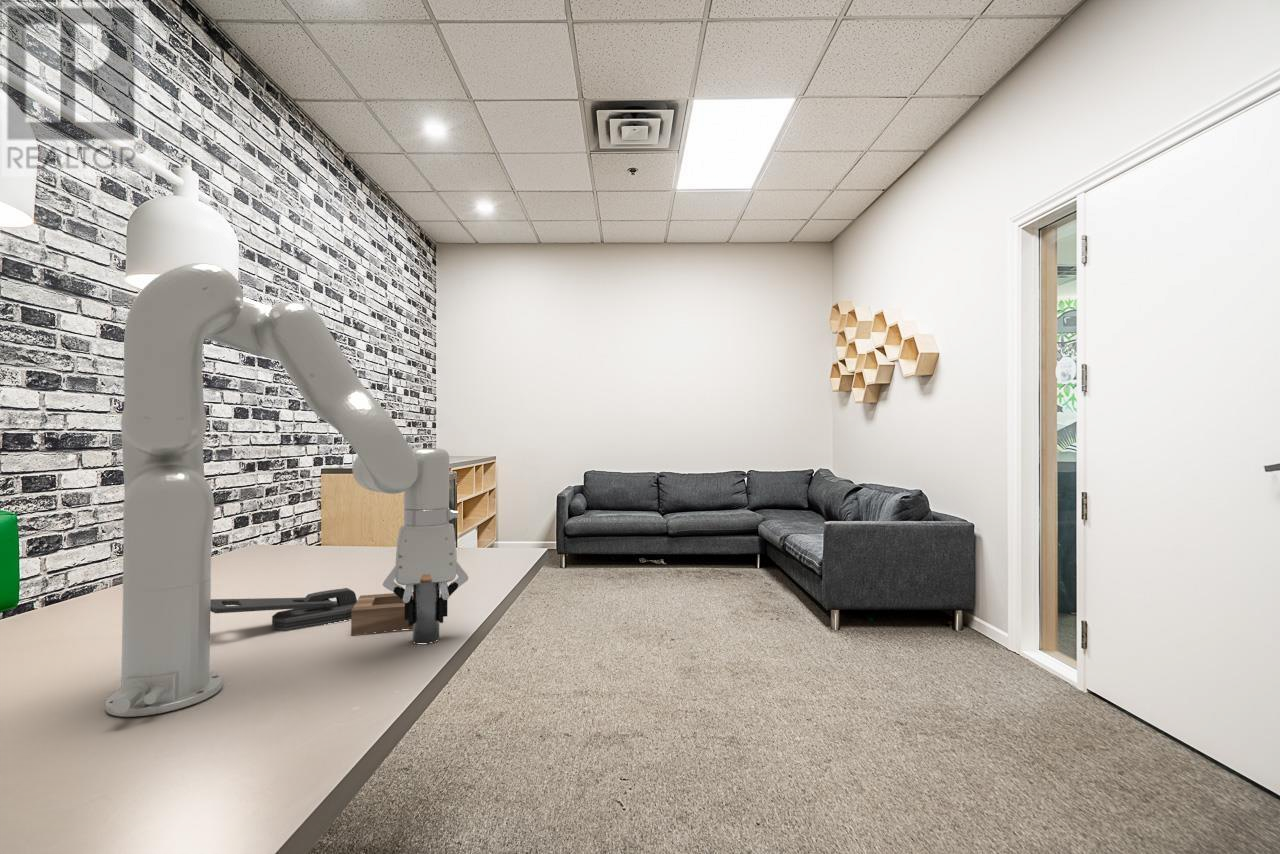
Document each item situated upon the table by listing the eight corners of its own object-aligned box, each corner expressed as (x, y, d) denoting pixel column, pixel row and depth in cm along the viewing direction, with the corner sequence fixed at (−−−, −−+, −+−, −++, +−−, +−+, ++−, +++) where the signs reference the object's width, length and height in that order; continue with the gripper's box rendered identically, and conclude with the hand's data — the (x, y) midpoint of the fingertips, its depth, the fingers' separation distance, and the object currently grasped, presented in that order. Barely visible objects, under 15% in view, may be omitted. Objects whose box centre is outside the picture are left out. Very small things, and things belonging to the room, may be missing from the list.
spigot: (439, 643, 104) (440, 573, 104) (411, 646, 102) (411, 575, 103) (440, 635, 108) (440, 568, 109) (413, 637, 107) (413, 570, 107)
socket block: (421, 629, 112) (422, 604, 112) (351, 635, 108) (351, 610, 108) (424, 613, 122) (424, 590, 122) (359, 618, 119) (360, 595, 119)
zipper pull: (203, 598, 109) (349, 577, 126) (202, 635, 109) (349, 609, 126) (211, 608, 102) (364, 584, 119) (210, 647, 102) (363, 618, 119)
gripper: (475, 513, 112) (475, 612, 112) (377, 517, 107) (376, 620, 106) (477, 518, 105) (476, 623, 104) (372, 523, 100) (371, 633, 99)
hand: (426, 621), depth 105 cm, fingers closed on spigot, 4 cm apart
